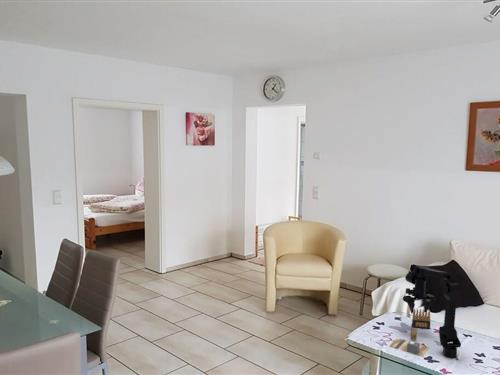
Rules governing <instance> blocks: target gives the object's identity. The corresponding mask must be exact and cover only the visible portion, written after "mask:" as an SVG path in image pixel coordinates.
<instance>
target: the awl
mask: <svg viewBox="0 0 500 375" xmlns="http://www.w3.org/2000/svg"><path fill="white" fill-rule="evenodd" d="M410 330H411V331H410V340H411V341H414V342H417V335H418V329H417V328H411V329H410Z"/></svg>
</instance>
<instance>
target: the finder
mask: <svg viewBox="0 0 500 375" xmlns="http://www.w3.org/2000/svg"><path fill="white" fill-rule="evenodd" d="M408 341H409V342H408V343H407V352H406V353H408V352H410V353H409V354H411V353H413V354H412V355H414V354H416V355H415V356H418V355H417V353H418V352H419V346H420V345H421V343H419V342H417V341H412V340H411V339H410V340H408Z"/></svg>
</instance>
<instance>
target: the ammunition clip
mask: <svg viewBox="0 0 500 375" xmlns="http://www.w3.org/2000/svg"><path fill="white" fill-rule="evenodd" d="M430 310H431V309H428V311H427V312H426V313H425V312H424V308H423V310H422V309H421V308H420V309H417V310H416V308H414V311H413V314H412V320H411V329H418V328H419V329H418V330H420V329H421V330H431V311H430Z"/></svg>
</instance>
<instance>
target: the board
mask: <svg viewBox="0 0 500 375" xmlns="http://www.w3.org/2000/svg"><path fill="white" fill-rule="evenodd" d="M409 341H410V340H405V339H402V338H398V337H397V338H395V339H394V341H392V342H391V344H390V345H388V347H389V348H392V349H396V350H399V351H401V352H402V351H403V352H406V353H408V354H411V355H415V356H417V357H421V358H424V357H425V355H426V354H427V352H429V350H430V349H431V347H429V346H426V345H423V344H420V346H419V352H418V353H417V355H416V354H413V353H410V352H407V343H408V342H409Z"/></svg>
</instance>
